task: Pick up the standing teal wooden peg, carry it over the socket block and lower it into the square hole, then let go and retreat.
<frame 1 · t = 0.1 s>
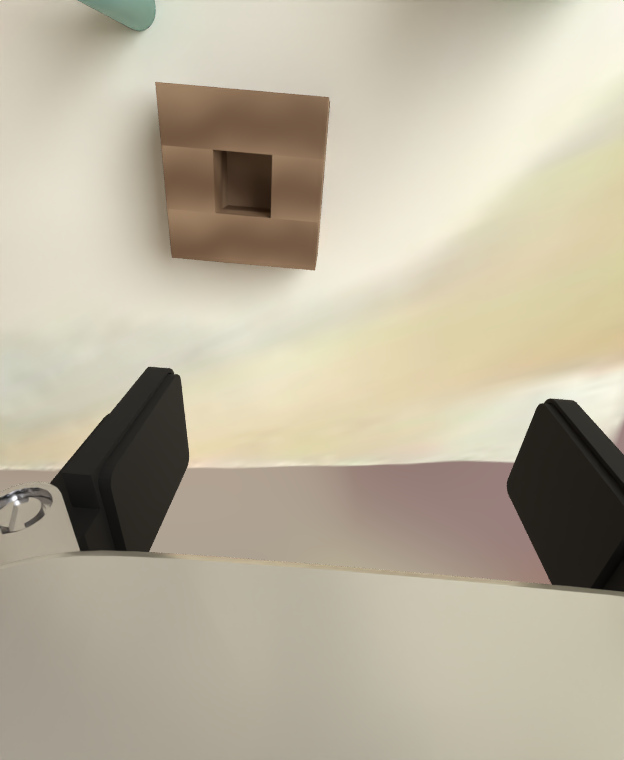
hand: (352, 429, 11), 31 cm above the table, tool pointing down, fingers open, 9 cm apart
socket block: (254, 178, 37), on the table
peg: (135, 4, 31), on the table
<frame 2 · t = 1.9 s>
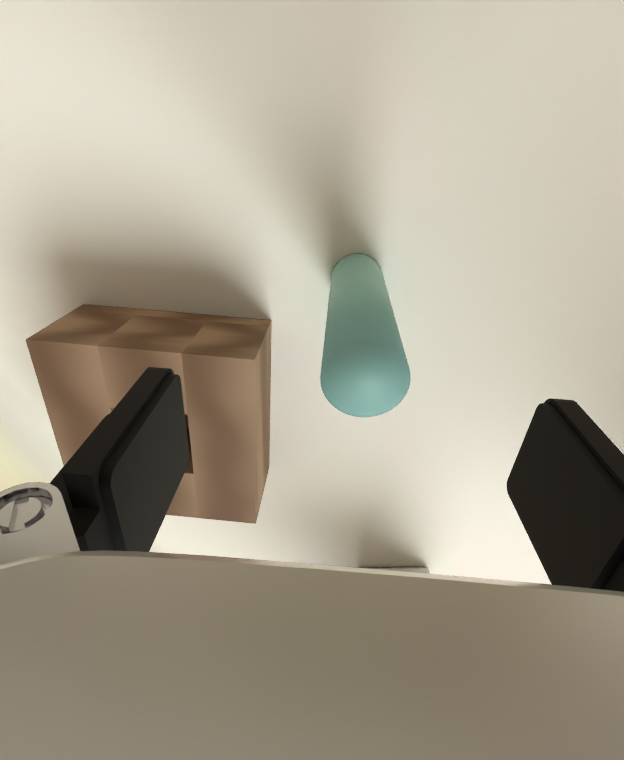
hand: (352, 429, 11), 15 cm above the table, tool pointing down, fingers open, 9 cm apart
socket block: (185, 393, 29), on the table
peg: (356, 279, 24), on the table
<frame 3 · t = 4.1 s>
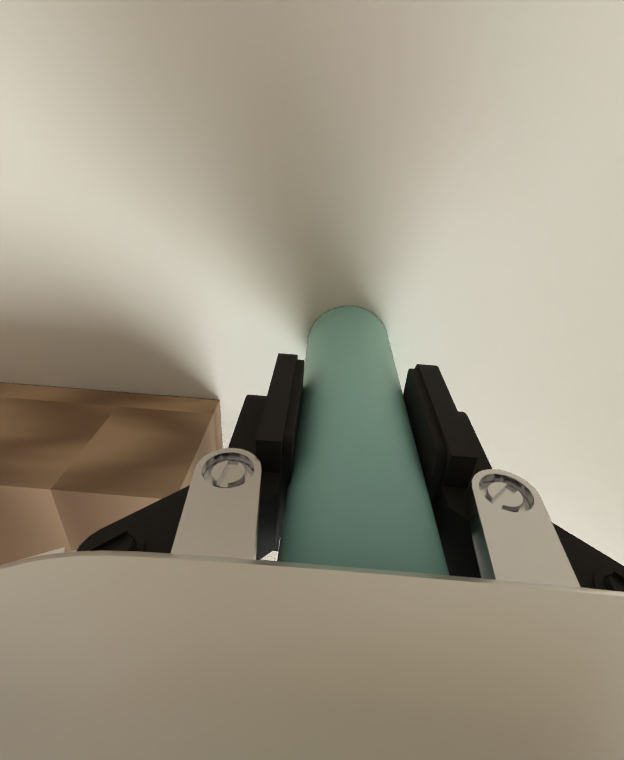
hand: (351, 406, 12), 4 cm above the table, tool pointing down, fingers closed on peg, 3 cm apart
socket block: (103, 493, 20), on the table
peg: (347, 343, 16), on the table, touching gripper
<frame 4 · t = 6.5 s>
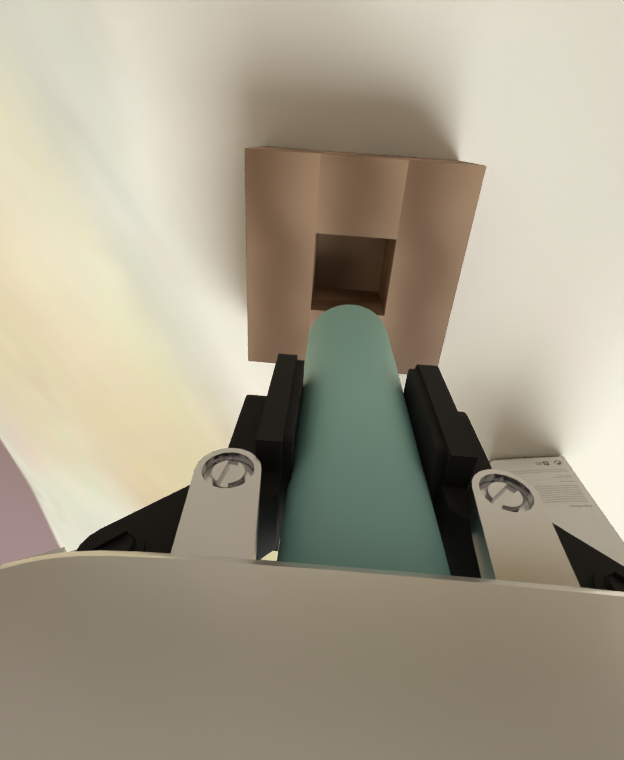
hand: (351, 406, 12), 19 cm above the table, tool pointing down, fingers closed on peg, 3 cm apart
socket block: (349, 253, 28), on the table
skincare box: (521, 488, 38), on the table
peg: (347, 342, 16), point 15 cm above the table, touching gripper
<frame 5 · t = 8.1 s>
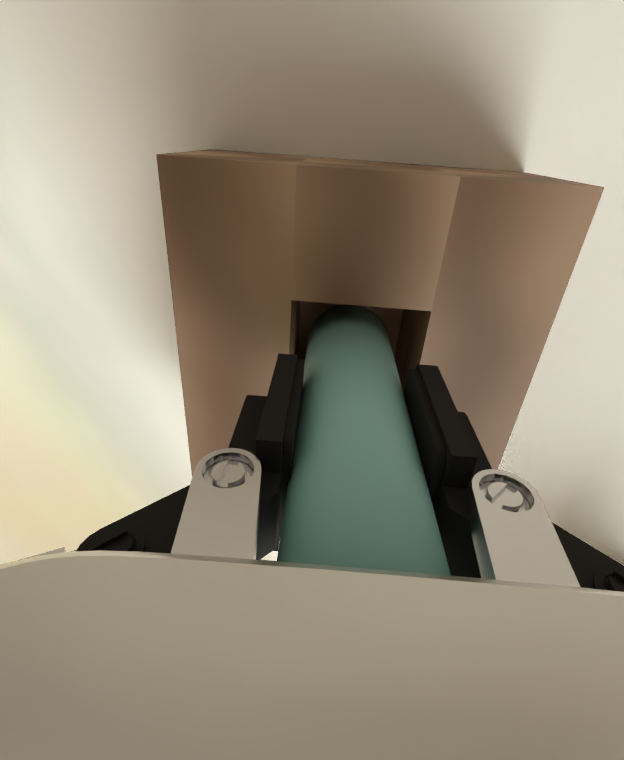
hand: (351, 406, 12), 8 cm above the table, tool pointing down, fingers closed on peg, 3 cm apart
socket block: (349, 309, 19), on the table
peg: (347, 342, 16), point 4 cm above the table, touching gripper
when the fingers open (7 cm above the table, at t = 9.2 s): peg drops 2 cm, resting on socket block.
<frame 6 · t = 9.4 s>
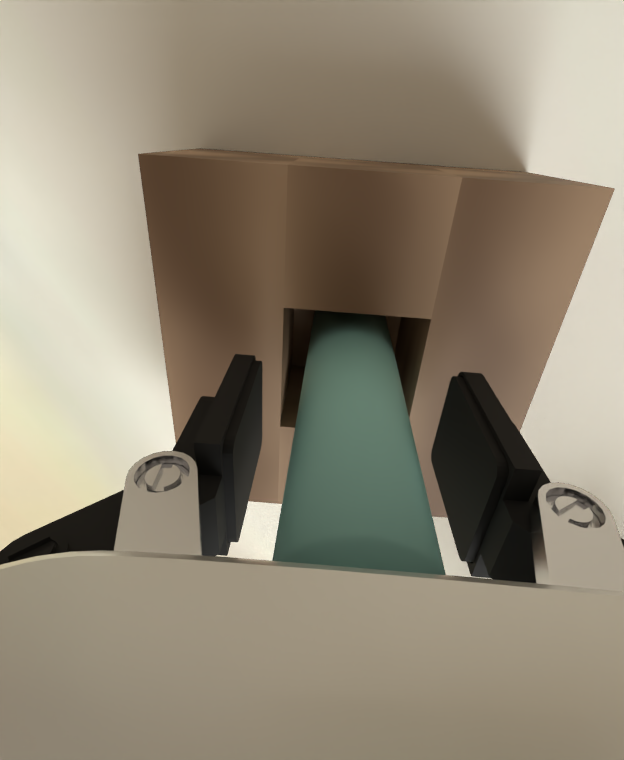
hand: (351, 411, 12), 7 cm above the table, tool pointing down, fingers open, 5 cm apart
socket block: (345, 314, 18), on the table
peg: (349, 322, 17), point 1 cm above the table, touching socket block
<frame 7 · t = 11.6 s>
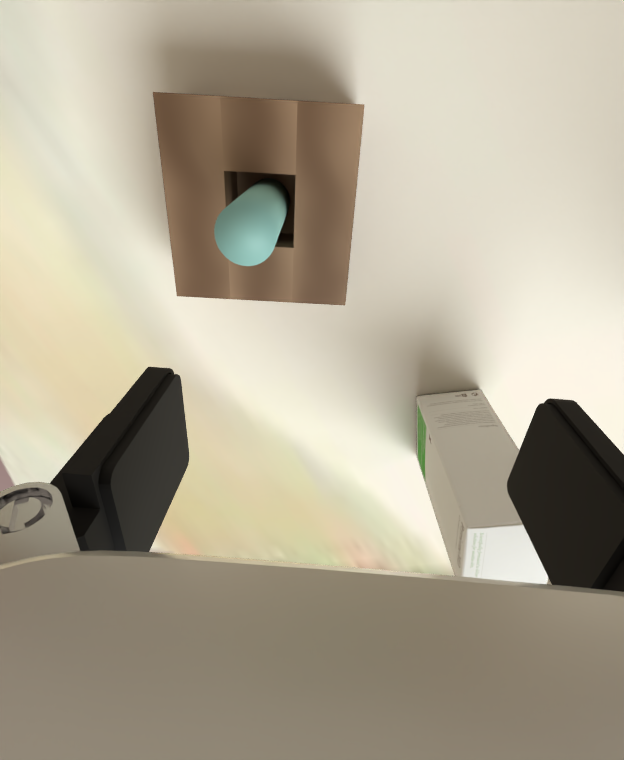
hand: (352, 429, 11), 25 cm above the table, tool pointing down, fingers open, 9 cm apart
socket block: (269, 199, 31), on the table
skincare box: (448, 423, 42), on the table
peg: (269, 200, 31), point 1 cm above the table, touching socket block
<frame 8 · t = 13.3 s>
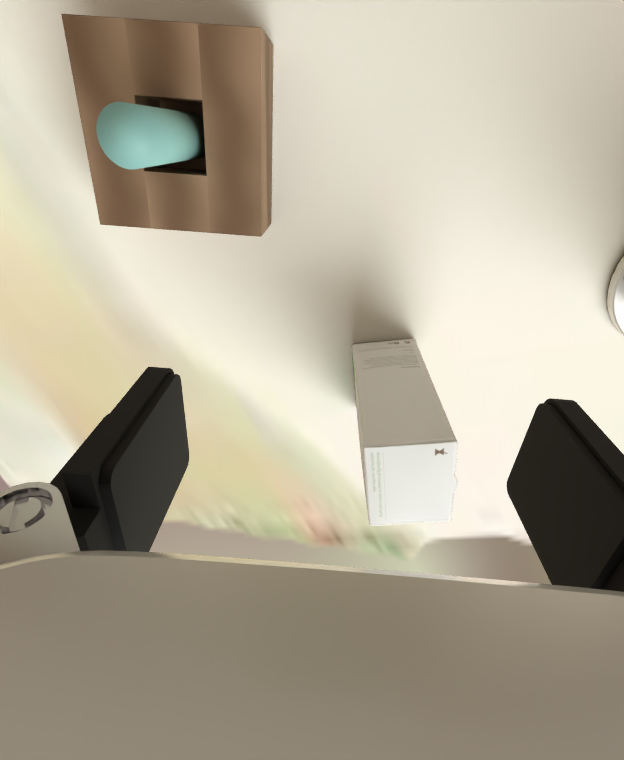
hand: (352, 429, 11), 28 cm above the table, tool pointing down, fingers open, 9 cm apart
socket block: (195, 136, 33), on the table
skincare box: (386, 375, 43), on the table
peg: (193, 136, 32), point 1 cm above the table, touching socket block
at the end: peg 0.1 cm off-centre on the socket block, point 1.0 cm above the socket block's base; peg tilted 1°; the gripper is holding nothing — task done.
